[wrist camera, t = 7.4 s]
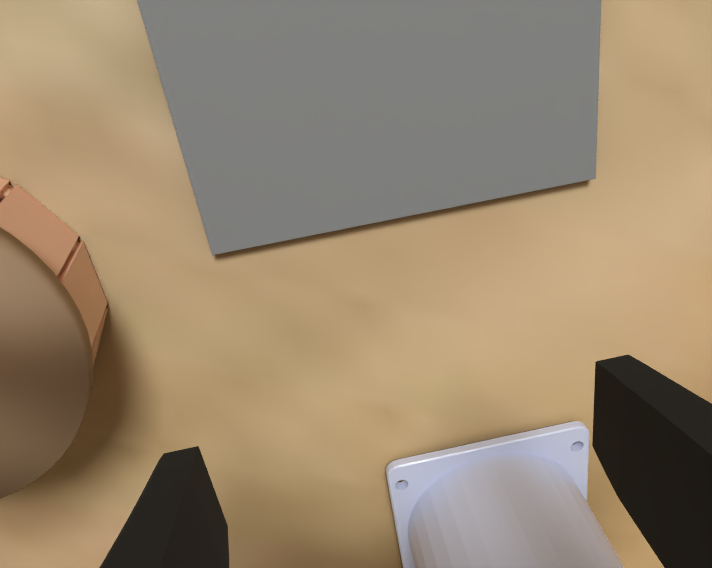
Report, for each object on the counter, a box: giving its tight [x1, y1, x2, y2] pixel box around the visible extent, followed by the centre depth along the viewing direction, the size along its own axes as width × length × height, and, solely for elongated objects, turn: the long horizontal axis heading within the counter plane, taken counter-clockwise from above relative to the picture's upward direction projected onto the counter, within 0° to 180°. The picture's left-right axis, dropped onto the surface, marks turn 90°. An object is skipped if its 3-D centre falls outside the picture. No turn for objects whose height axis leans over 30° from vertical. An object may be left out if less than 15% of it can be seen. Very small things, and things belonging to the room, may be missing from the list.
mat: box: [137, 0, 601, 255], centre depth 17 cm, size 12×12×1 cm
